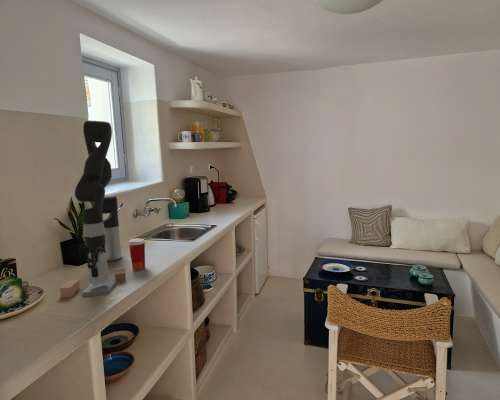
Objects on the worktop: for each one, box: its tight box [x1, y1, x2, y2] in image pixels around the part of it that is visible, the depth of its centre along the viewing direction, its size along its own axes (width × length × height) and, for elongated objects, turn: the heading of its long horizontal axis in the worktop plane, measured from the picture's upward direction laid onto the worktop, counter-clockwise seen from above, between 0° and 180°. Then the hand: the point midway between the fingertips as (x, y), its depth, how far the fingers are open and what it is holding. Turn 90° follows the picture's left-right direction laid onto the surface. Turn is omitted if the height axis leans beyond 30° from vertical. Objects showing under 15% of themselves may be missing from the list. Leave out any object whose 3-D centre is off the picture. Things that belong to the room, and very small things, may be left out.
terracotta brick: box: [59, 279, 81, 298], centre depth 136 cm, size 8×4×4 cm, turn 5°
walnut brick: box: [114, 266, 127, 284], centre depth 149 cm, size 8×4×4 cm, turn 21°
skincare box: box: [88, 252, 110, 286], centre depth 137 cm, size 6×4×12 cm
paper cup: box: [127, 237, 146, 272], centre depth 161 cm, size 8×8×14 cm
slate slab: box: [81, 280, 117, 297], centre depth 138 cm, size 10×10×2 cm
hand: (98, 273), depth 137 cm, fingers closed on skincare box, 7 cm apart
